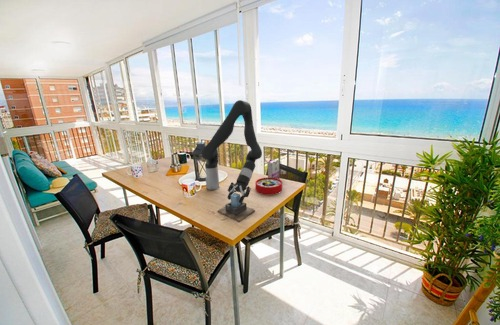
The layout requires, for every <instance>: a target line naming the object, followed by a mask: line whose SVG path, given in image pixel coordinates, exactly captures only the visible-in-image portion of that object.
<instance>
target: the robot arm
mask: <svg viewBox="0 0 500 325" xmlns="http://www.w3.org/2000/svg"><path fill="white" fill-rule="evenodd" d="M252 113H253V112H252V107H251V104H250V102H248V101H245V100H242V99H239V100H237V101H235V102H234V103H233V105H232V107H231V109H230V111H229V112H228V114H227V116H226V117H225V119H224V120H223V121H222V123H221V125H219V127H218V129H217V130H216V131H215V133H214V134H213V136H212V137H211V139H210V140H209V142H208V143H207V144H206V145H205V146H204V147H203V148H202V151H201V157H202V159H204V160H207V161H206V162H205V163H204V164H205V165H204V166H205V167H204V168H205V186H206V189H207V190H210V191H211V190H212V191H215V190H218V189H219V188H220V180H219V179H220V178H219V168H218V164H219V153H218V152H219V151H218V148H219V147H221V145H223V144H224V143H225V142H226V141H227V140H228V139H229V138H230V136H231V135H232V134H233V131H234V128H235V123H236V121H237V120H238V119H239V117H240V116H242V118H243V121H244V129H243V130H244V131H243V133H244V134H243V136H244V141H245V144H246V146H247V147H249V148H250V150H249V151H248V152H247V154H246V157H245V162H244V164H243V166H242V169H241V170H240V172H239V174H238V177H237V179H236V181H235V183H234V182H231V183H230V185H228V188H227V192H228V194H227V199H228V200H229V201H231V195H232V194H234V193H237V192H238V193H240V200H239V203H242V202H244V200H245V198H248V197H249V196H250V193H251V191H252V190H251V189H252V188H251V187H250V186H249V183H250V181H251V179H252V176H253V173H254V170H255V169H256V163H255V162H256V161H257V160H259V159H261V158H262V156H263V152H262V148H261V146H260V145H259V143H258V141H257V136H256V132H255V129H254V128H255V127H254V123H253V114H252Z"/></svg>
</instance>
